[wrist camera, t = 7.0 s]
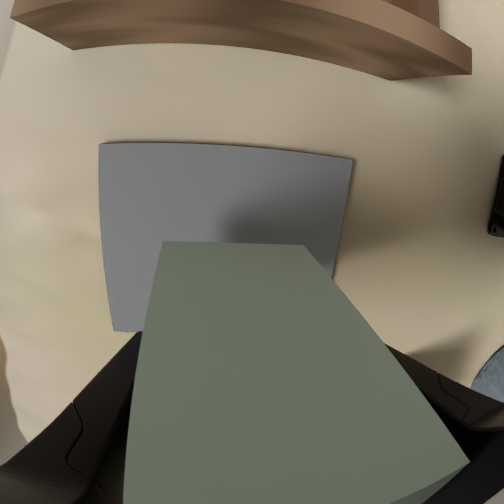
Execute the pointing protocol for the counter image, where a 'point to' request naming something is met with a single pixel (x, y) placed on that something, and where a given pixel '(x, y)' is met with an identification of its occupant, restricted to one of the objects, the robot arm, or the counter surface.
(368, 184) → the counter surface
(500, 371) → the moka pot
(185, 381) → the grey-green rectangular block
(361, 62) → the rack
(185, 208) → the mat
